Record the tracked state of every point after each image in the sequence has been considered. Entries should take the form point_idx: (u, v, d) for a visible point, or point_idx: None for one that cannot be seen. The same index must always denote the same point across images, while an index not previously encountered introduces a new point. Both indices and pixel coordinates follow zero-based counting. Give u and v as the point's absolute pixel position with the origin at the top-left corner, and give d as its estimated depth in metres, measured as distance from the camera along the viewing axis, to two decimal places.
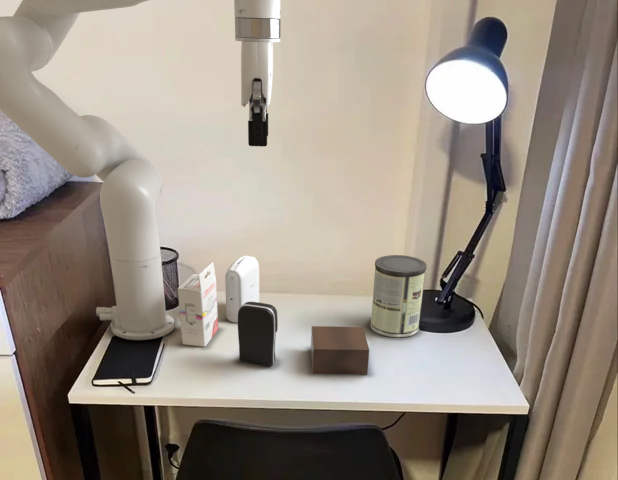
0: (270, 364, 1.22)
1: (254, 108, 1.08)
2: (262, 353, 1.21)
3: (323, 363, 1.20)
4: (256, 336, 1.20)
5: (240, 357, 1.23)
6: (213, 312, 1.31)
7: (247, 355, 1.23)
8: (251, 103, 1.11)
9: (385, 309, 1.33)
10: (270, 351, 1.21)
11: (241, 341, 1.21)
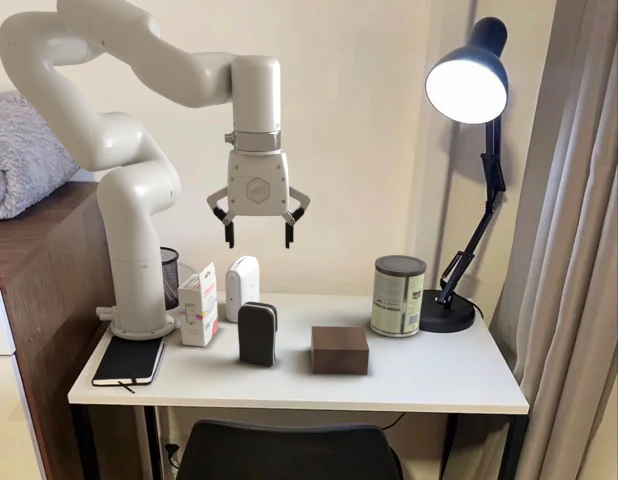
0: (270, 364, 1.22)
1: (304, 210, 1.12)
2: (262, 353, 1.21)
3: (323, 363, 1.20)
4: (256, 336, 1.20)
5: (240, 357, 1.23)
6: (213, 312, 1.31)
7: (247, 355, 1.23)
8: None
9: (385, 309, 1.33)
10: (270, 351, 1.21)
11: (241, 341, 1.21)
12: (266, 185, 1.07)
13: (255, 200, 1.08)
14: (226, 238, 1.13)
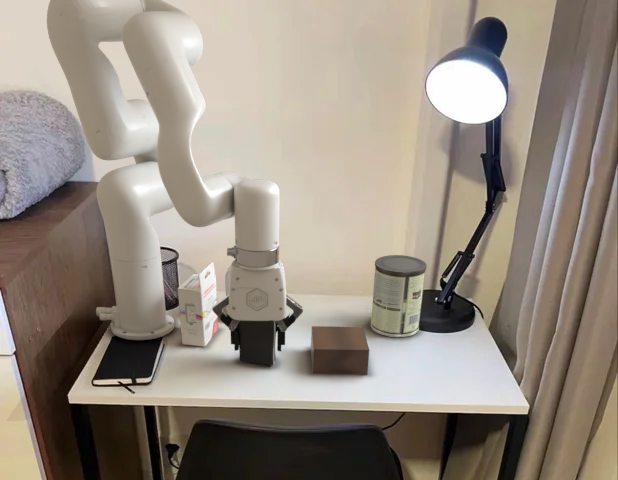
0: (270, 364, 1.22)
1: (296, 318, 1.20)
2: (262, 353, 1.21)
3: (323, 363, 1.20)
4: (256, 336, 1.20)
5: (240, 357, 1.23)
6: (213, 312, 1.31)
7: (247, 355, 1.23)
8: None
9: (385, 309, 1.33)
10: (270, 351, 1.21)
11: (242, 341, 1.21)
12: (265, 295, 1.15)
13: (254, 307, 1.16)
14: (232, 341, 1.22)
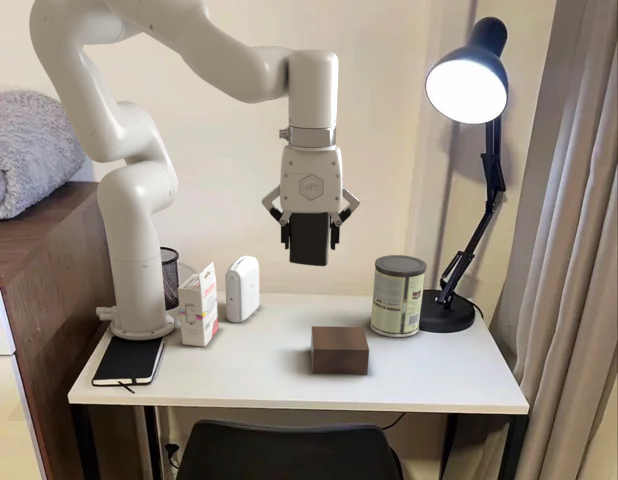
0: (323, 264, 1.13)
1: (351, 212, 1.11)
2: (315, 251, 1.12)
3: (323, 363, 1.20)
4: (309, 232, 1.11)
5: (290, 258, 1.14)
6: (213, 312, 1.31)
7: (298, 255, 1.13)
8: None
9: (385, 309, 1.33)
10: (324, 249, 1.11)
11: (292, 238, 1.12)
12: (320, 181, 1.06)
13: (308, 197, 1.07)
14: (282, 239, 1.12)
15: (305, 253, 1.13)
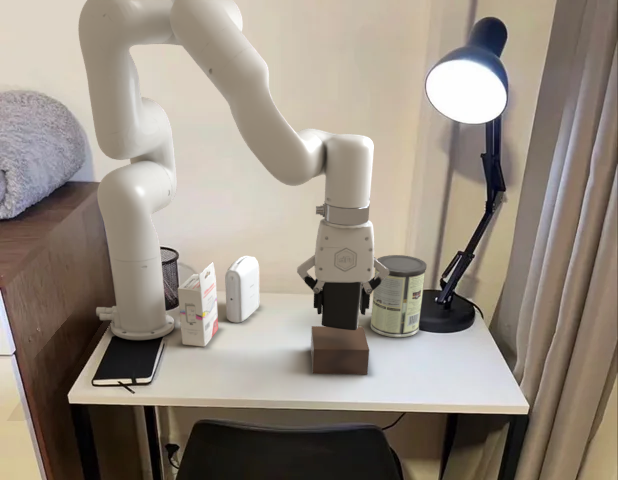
0: (354, 328, 1.19)
1: (381, 281, 1.17)
2: (346, 317, 1.18)
3: (323, 363, 1.20)
4: (341, 299, 1.17)
5: (323, 321, 1.20)
6: (213, 312, 1.31)
7: (330, 319, 1.19)
8: None
9: (385, 309, 1.33)
10: (355, 314, 1.18)
11: (325, 304, 1.18)
12: (354, 255, 1.12)
13: (342, 268, 1.13)
14: (315, 304, 1.19)
15: (337, 318, 1.19)
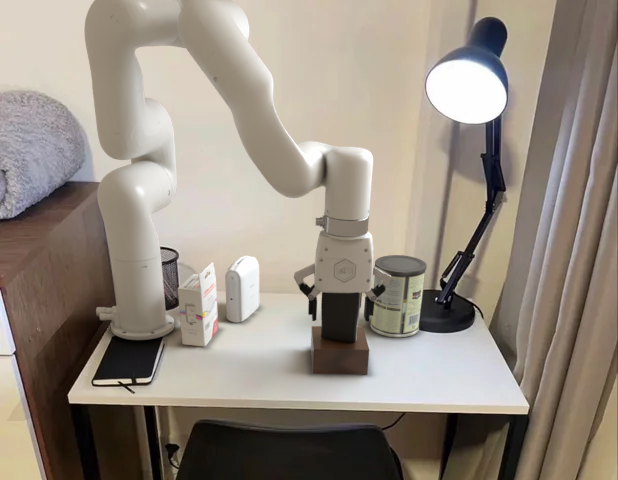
0: (353, 340, 1.20)
1: (385, 287, 1.18)
2: (345, 329, 1.20)
3: (323, 363, 1.20)
4: (341, 312, 1.18)
5: (322, 334, 1.21)
6: (213, 312, 1.31)
7: (329, 331, 1.21)
8: None
9: (385, 309, 1.33)
10: (354, 327, 1.19)
11: (324, 317, 1.20)
12: (353, 266, 1.13)
13: (341, 279, 1.14)
14: (309, 311, 1.19)
15: (336, 330, 1.20)
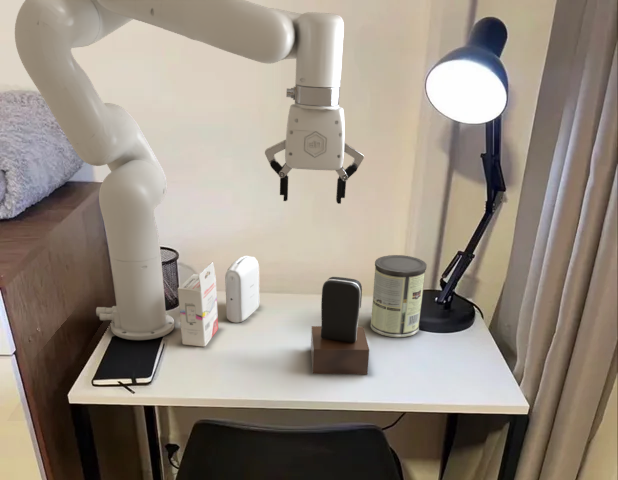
0: (353, 340, 1.20)
1: (357, 167, 1.17)
2: (345, 329, 1.20)
3: (323, 363, 1.20)
4: (341, 312, 1.18)
5: (322, 334, 1.21)
6: (213, 312, 1.31)
7: (329, 331, 1.21)
8: None
9: (385, 309, 1.33)
10: (354, 327, 1.19)
11: (324, 317, 1.20)
12: (323, 139, 1.12)
13: (312, 154, 1.13)
14: (281, 191, 1.18)
15: (336, 330, 1.20)
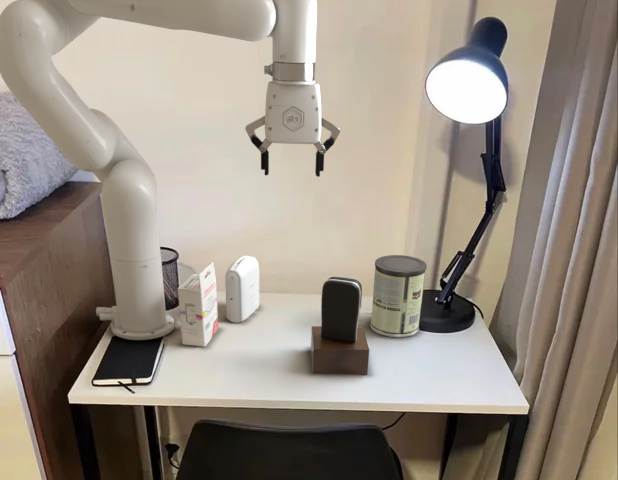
0: (353, 340, 1.20)
1: (334, 140, 1.22)
2: (345, 329, 1.20)
3: (323, 363, 1.20)
4: (341, 312, 1.18)
5: (322, 334, 1.21)
6: (213, 312, 1.31)
7: (329, 331, 1.21)
8: None
9: (385, 309, 1.33)
10: (354, 327, 1.19)
11: (324, 317, 1.20)
12: (301, 114, 1.17)
13: (290, 128, 1.18)
14: (262, 165, 1.23)
15: (336, 330, 1.20)
